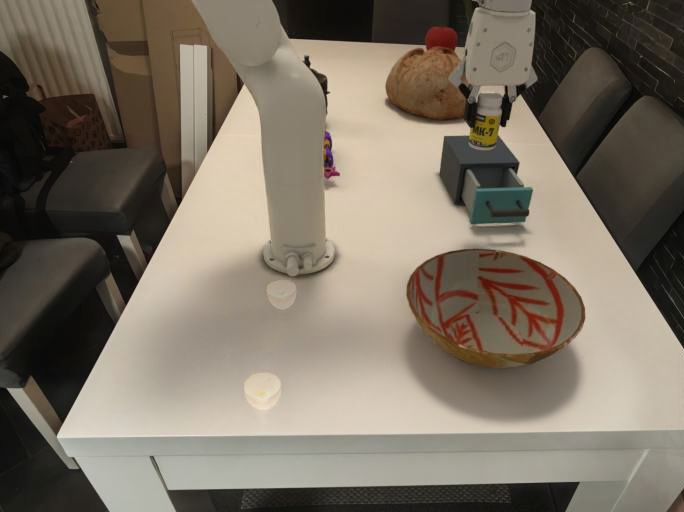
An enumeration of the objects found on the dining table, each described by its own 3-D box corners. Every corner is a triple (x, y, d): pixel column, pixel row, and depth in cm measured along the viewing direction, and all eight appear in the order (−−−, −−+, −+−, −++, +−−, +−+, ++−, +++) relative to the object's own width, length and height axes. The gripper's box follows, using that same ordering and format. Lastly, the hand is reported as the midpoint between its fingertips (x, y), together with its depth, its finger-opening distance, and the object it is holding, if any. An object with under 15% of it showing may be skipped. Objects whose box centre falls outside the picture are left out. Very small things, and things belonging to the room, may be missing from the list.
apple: (459, 62, 193) (464, 24, 185) (446, 68, 186) (450, 30, 178) (432, 56, 197) (435, 19, 189) (417, 62, 190) (421, 24, 182)
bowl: (544, 289, 93) (556, 249, 87) (593, 399, 74) (612, 357, 69) (397, 287, 92) (400, 246, 86) (409, 399, 73) (414, 356, 68)
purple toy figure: (336, 142, 136) (335, 90, 127) (340, 189, 117) (340, 131, 109) (276, 142, 134) (272, 90, 126) (271, 189, 116) (266, 131, 108)
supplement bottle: (465, 148, 94) (473, 97, 88) (470, 138, 97) (478, 88, 92) (493, 152, 93) (502, 101, 87) (497, 142, 96) (506, 92, 91)
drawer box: (510, 202, 116) (519, 162, 110) (454, 204, 114) (460, 163, 108) (491, 172, 126) (498, 134, 120) (439, 174, 125) (444, 135, 119)
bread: (487, 118, 152) (497, 60, 142) (411, 127, 145) (416, 66, 135) (444, 88, 170) (450, 34, 160) (374, 95, 163) (376, 39, 153)
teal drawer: (533, 235, 104) (542, 202, 100) (477, 237, 103) (484, 204, 98) (504, 191, 117) (511, 160, 113) (454, 193, 116) (459, 161, 111)
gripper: (456, 4, 77) (441, 134, 89) (570, 5, 79) (540, 132, 91) (444, -6, 82) (432, 117, 95) (551, -5, 84) (526, 115, 97)
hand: (485, 123), depth 93 cm, fingers closed on supplement bottle, 4 cm apart
